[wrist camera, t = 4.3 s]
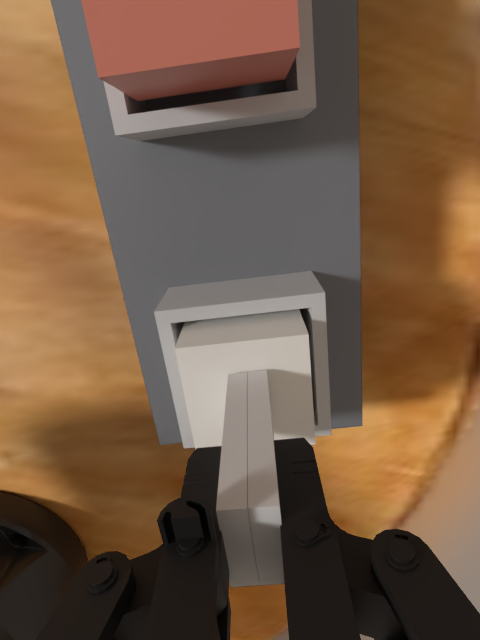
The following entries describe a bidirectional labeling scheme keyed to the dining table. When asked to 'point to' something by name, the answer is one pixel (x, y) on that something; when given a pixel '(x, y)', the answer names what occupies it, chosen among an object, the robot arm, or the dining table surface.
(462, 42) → the dining table surface
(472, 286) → the dining table surface
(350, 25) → the plug panel
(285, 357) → the pale plug
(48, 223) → the dining table surface
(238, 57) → the red plug
